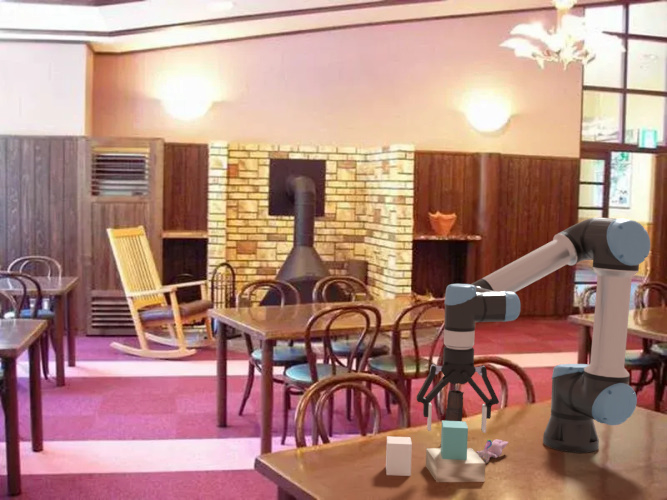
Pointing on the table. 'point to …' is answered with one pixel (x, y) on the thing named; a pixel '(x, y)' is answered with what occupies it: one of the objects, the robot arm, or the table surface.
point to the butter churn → (454, 405)
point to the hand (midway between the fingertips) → (456, 430)
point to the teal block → (454, 440)
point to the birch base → (455, 467)
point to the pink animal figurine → (492, 449)
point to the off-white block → (398, 456)
